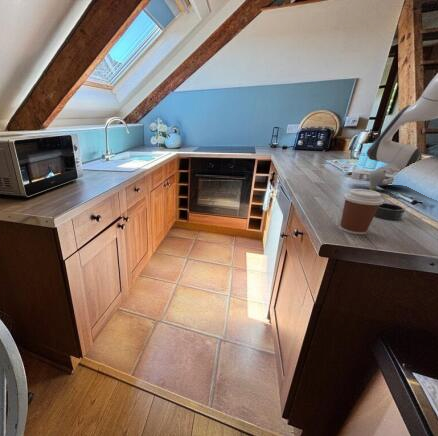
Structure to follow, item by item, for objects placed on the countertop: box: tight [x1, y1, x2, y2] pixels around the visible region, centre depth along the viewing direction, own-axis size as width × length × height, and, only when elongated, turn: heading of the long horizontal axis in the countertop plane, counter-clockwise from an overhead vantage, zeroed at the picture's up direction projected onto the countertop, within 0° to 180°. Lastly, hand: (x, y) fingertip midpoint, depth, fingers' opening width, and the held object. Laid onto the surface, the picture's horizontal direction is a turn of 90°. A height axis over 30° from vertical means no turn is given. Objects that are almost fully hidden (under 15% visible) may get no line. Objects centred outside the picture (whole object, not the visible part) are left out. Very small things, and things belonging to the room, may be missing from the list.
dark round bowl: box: [374, 202, 406, 221], centre depth 83 cm, size 8×8×4 cm
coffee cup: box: [339, 188, 385, 235], centre depth 72 cm, size 9×9×12 cm
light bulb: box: [368, 169, 385, 191], centre depth 106 cm, size 6×6×10 cm
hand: (374, 180), depth 105 cm, fingers closed on light bulb, 5 cm apart
